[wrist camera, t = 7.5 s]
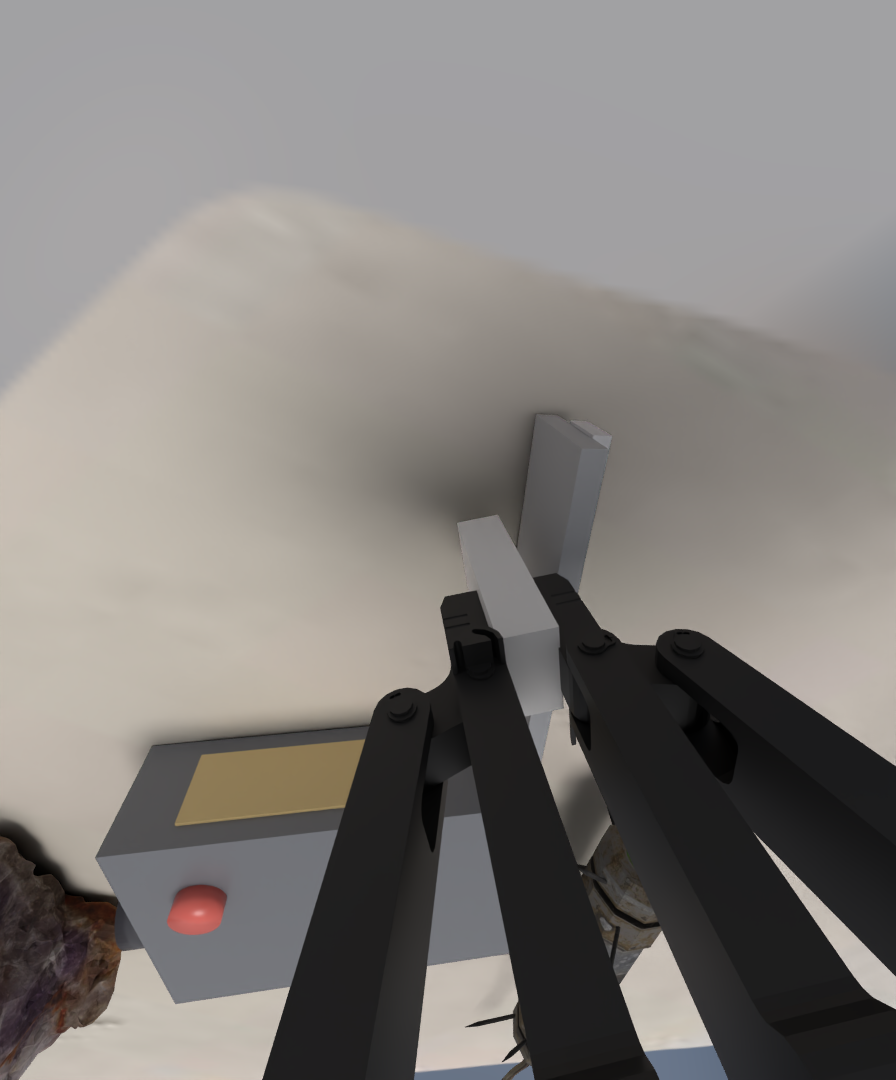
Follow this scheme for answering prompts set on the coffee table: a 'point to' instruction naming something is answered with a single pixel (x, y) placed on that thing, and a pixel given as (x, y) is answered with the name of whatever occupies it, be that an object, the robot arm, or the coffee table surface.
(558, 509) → the side door
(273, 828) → the camera body
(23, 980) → the rock
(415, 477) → the coffee table surface
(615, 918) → the bomb
